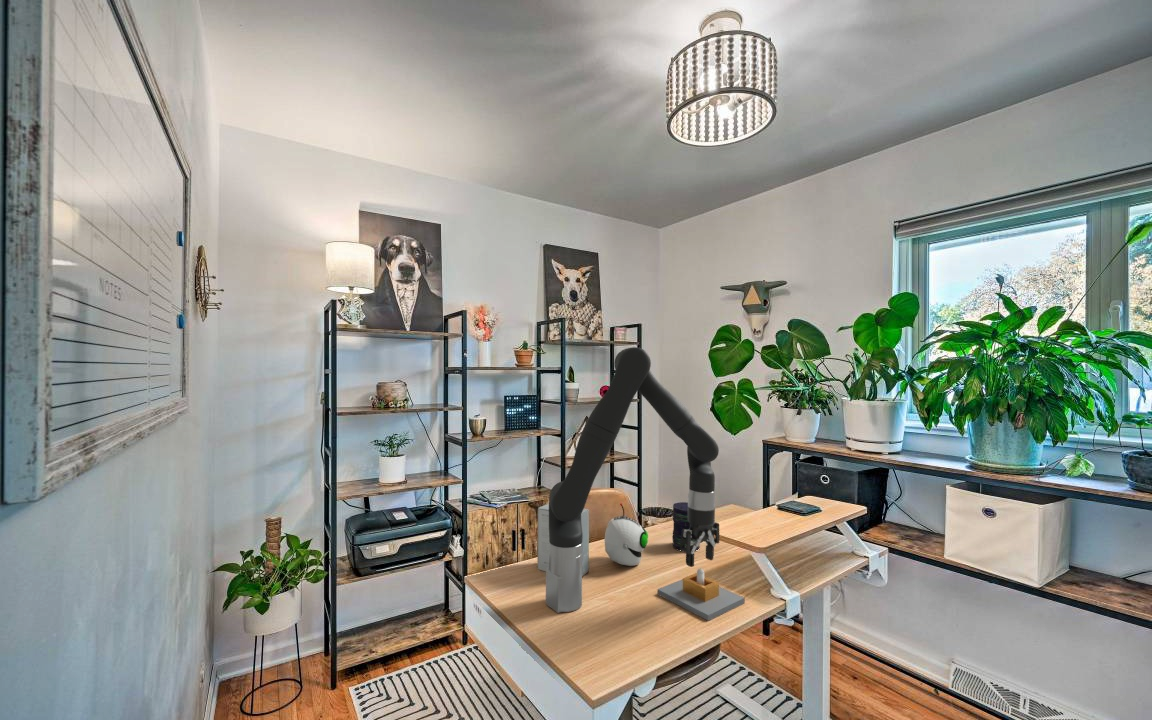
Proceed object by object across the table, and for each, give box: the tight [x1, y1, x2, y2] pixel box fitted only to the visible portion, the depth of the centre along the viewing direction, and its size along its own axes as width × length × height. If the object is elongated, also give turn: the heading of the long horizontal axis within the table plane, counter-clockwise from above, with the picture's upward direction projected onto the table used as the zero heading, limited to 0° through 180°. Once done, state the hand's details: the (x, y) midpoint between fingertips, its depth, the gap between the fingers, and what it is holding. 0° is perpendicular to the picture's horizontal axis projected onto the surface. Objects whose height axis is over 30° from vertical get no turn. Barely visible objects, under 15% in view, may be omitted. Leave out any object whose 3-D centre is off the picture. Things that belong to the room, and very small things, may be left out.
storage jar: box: [671, 501, 701, 552], centre depth 177 cm, size 10×10×15 cm
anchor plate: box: [657, 568, 746, 622], centre depth 139 cm, size 16×18×8 cm
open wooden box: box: [682, 572, 720, 602], centre depth 139 cm, size 6×8×4 cm
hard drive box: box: [536, 503, 590, 577], centre depth 156 cm, size 16×8×20 cm, turn 59°
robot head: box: [604, 503, 649, 567], centre depth 162 cm, size 16×14×20 cm
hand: (699, 562), depth 139 cm, fingers open, 8 cm apart
